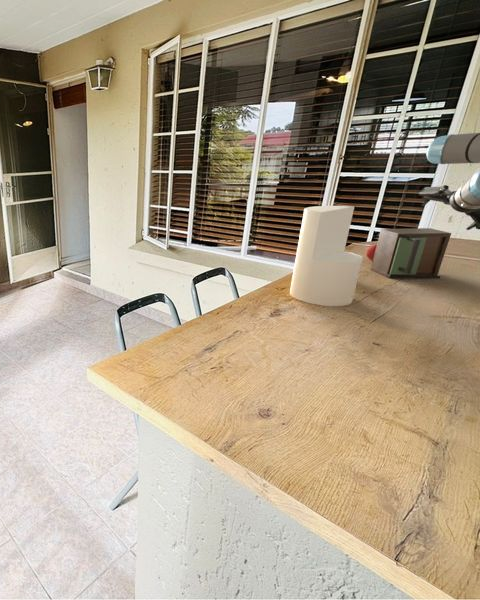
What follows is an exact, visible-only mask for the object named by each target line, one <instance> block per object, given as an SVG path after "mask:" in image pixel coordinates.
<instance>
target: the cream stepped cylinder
mask: <svg viewBox="0 0 480 600" xmlns="http://www.w3.org/2000/svg"><path fill="white" fill-rule="evenodd" d="M354 211H355V206H353V205H352V206H351V205H317V206H316V205H315V206H308V207H305V208H304V209H303V216H302V220H301V227H300V231H299V239H298V244H297V249H296V255H295V260H294V266H293V271H292V276H291V277H292V278H291V283H290V289H289V295H290V296H291V297H292V298H293V299H295V300H298V301H300V302H304V303H307V304H311V305H318V306H324V307H341V306H342V307H344V306H348V305H351V304H352V303H353V301H354V297H355V292H356V288H357V285H358V281H359V277H360V272H361V269H362V264H363V262H364V261H363V260H364V257H363V256H362V255H360V254H358V253H356V252H350V251H346V250H345V249H346V246H347V241H348V237H349V233H350V228H351V224H352V220H353V215H354Z"/></svg>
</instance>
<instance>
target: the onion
mask: <svg viewBox="0 0 480 600" xmlns="http://www.w3.org/2000/svg"><path fill="white" fill-rule="evenodd" d="M376 247H377V243H375V244H373V245H371V246H369V247H368V248H367V249H366V251H365V255H366V258H367V259H369V260H370V261H371V262H373V258H374V255H375V251H376Z"/></svg>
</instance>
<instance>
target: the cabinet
mask: <svg viewBox="0 0 480 600" xmlns="http://www.w3.org/2000/svg"><path fill="white" fill-rule="evenodd" d="M451 236H452V232H448V231H444V230H439V229H434V228H432V227H423V228H422V227H421V228H418V227H417V228H381V229H380V231H379V235H378V240H377V243H376V244H377V247H376V251H375V255H374V258H373V261H371V262H372V263H371V267H370V270H371V271H373V272H375V273H377V274H379V275H381V276H384V277H385V278H387V279H433V280H434V279H435V280H436V279H438V280H439V279H441V277H442V275H440V274H439V272H440V269H441V266H442V263H443V261H444V260H443V259H444V257H445V253H446V251H447V248H448V245H449V242H450V238H451ZM408 237H412V238H420V237H426V238H427V239H426V243H425V246H424V249H423V252H422V256H421V259H420V262H419V265H418V269H417V272H416V275H396V274H389V273H390V270H391V266H392V262H393V259H394V255H395V252H396V248H397V245H398V241H399V238H408Z"/></svg>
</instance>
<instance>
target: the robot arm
mask: <svg viewBox="0 0 480 600" xmlns="http://www.w3.org/2000/svg"><path fill="white" fill-rule="evenodd" d="M426 159H427V161H428V162H429V163H431V164H435V165H436V164H439V165H451V164H452V165H455V164H456V165H457V164H480V132H472V133H471V132H469V133H458V134H454V133H453V134H448V135H440V136H438V137H436V138H435V139H434V140H433V141H431V143H430V144H429V146H428V147H427V151H426ZM418 196H420V197H422V201H424V202H423V203H422V204H421V205H420V206H421V207H422V208H423V207H425V206H426V205H427V204H428V203H429V202H430V201H433V202H439V203H440V202H441V203H442V204H444V205H446V206H450V207H451V208H452V209H453V210H454V211H456V212H458V213H464V214H465V215H466V216H467V217H470V218H471V220H472V221H473V222H472V223H471V224H470V225H469V226H467V227H466V228H465V230H467V231H470V230H472V229H474V228H475V229H476V230H480V166H479V167H478V168H477V169H476V171H475V172H474V174H473V175H472V176H471V177H470V179H469V180H467V181H466V182H465V183H464V184H463V185H461V186H460V187H459V188H458V189H456V190H453V191H451V190H450V186H449V185H447V184H444V185H442V186H425V187H423V189H421V191H420V192H419V193H418Z"/></svg>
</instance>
